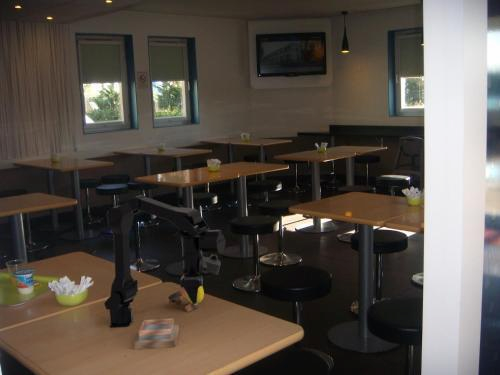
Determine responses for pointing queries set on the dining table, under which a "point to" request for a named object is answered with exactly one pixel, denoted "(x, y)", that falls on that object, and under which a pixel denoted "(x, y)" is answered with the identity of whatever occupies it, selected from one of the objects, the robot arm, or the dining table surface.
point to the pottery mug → (176, 298)
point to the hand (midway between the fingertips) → (195, 300)
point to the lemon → (199, 295)
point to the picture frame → (157, 334)
